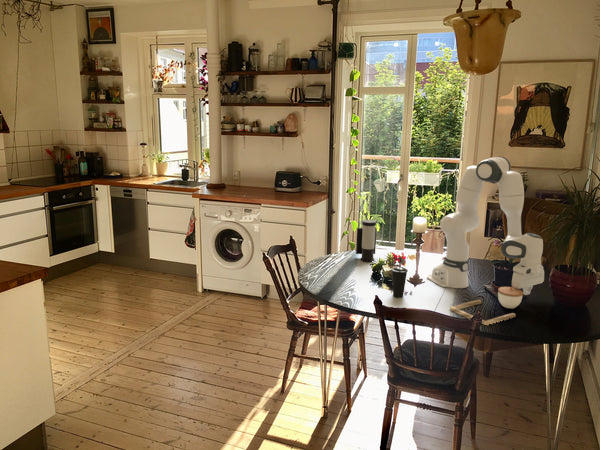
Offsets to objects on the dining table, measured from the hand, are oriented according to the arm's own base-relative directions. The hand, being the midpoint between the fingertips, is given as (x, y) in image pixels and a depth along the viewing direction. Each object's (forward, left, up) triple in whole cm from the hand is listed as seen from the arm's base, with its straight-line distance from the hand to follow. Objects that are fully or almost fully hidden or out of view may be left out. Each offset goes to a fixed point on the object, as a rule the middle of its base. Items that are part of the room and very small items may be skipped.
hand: (526, 294), depth 238 cm
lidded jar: (0, -13, -4) cm, 13 cm away
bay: (0, -32, -4) cm, 32 cm away
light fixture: (-91, -26, -4) cm, 95 cm away
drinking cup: (-35, -51, -4) cm, 62 cm away
